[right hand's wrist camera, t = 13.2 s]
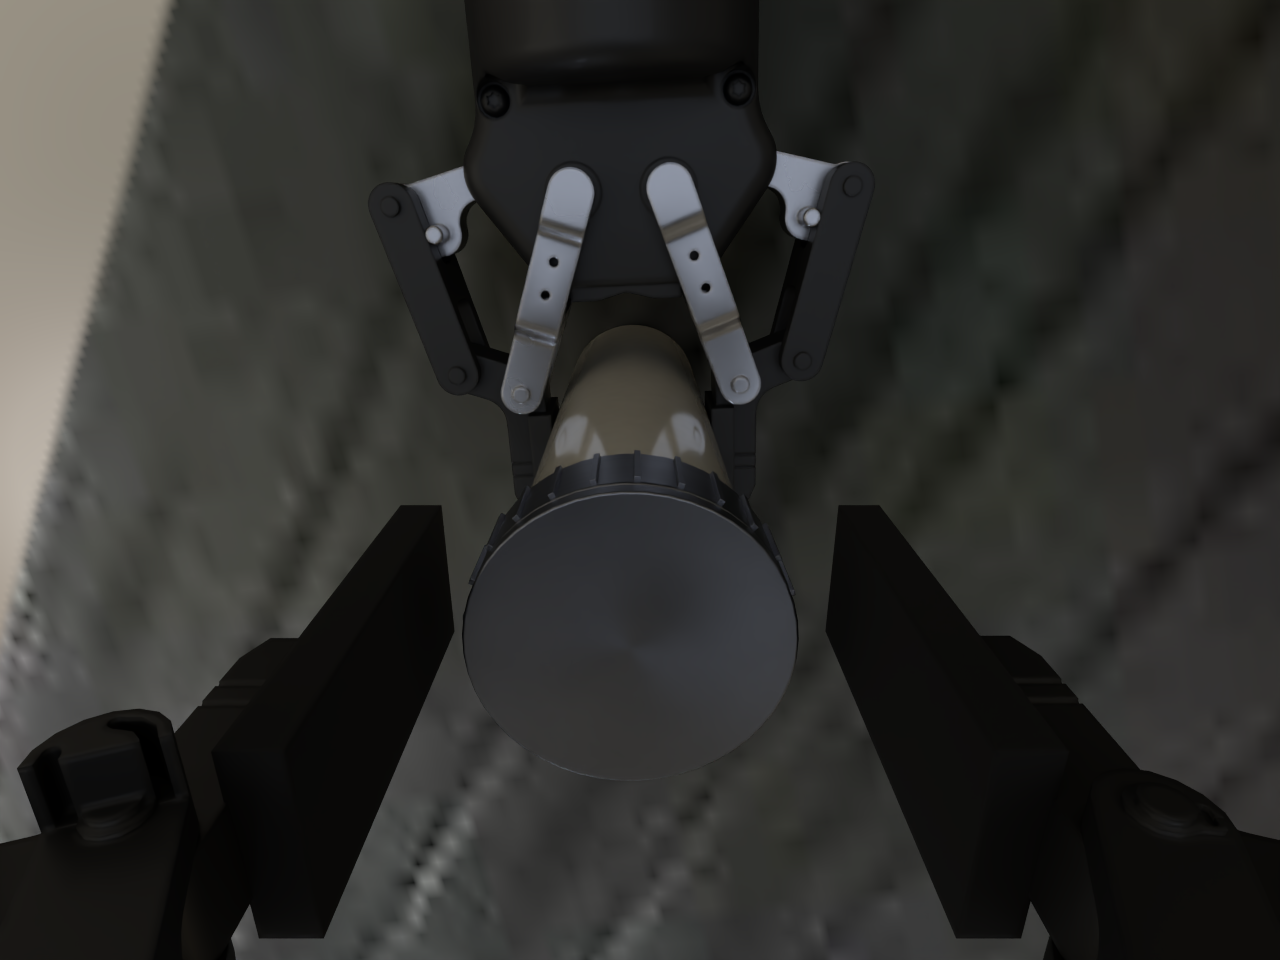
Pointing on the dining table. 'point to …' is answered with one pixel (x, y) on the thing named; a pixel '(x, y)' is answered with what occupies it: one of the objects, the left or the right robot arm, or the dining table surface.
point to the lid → (630, 619)
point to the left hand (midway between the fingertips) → (637, 510)
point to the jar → (632, 405)
